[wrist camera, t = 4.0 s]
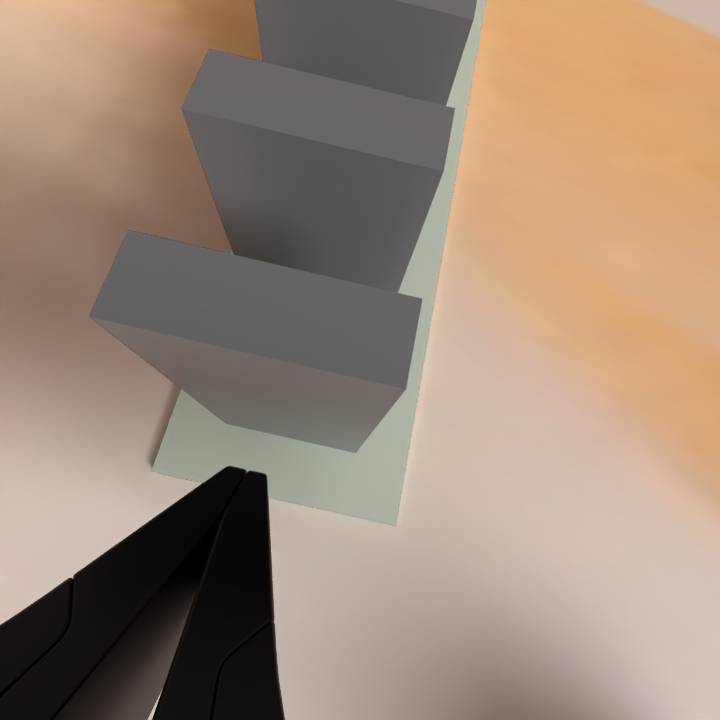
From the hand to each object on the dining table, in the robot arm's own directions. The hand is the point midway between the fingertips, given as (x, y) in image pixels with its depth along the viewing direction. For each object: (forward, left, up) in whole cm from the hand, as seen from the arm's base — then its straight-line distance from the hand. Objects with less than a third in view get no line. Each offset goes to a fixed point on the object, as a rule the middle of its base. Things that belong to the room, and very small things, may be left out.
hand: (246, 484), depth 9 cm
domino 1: (+2, +2, -7) cm, 7 cm away
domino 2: (+6, +4, -7) cm, 10 cm away
